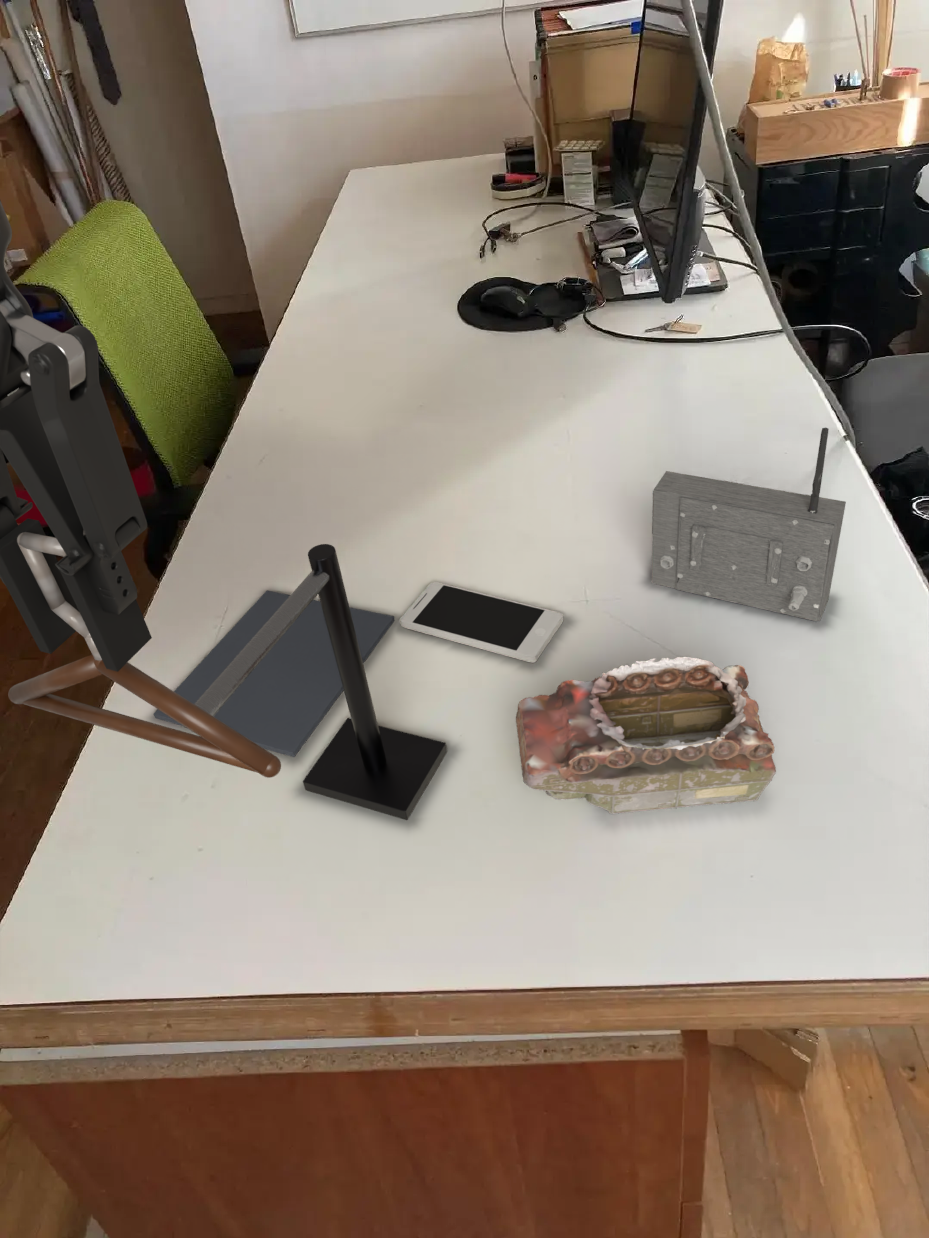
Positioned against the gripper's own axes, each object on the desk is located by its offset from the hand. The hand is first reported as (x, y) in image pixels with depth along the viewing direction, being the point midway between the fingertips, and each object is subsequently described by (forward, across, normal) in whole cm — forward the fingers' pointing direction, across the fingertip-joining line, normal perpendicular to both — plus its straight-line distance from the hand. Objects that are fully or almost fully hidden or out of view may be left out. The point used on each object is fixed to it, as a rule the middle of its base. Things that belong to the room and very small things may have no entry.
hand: (95, 643), depth 48 cm
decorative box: (+31, -23, -24) cm, 46 cm away
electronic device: (+31, -24, -52) cm, 65 cm away
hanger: (+7, 0, 0) cm, 7 cm away
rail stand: (+31, 0, -14) cm, 34 cm away
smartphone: (+31, -1, -41) cm, 51 cm away
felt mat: (+31, +16, -29) cm, 45 cm away
